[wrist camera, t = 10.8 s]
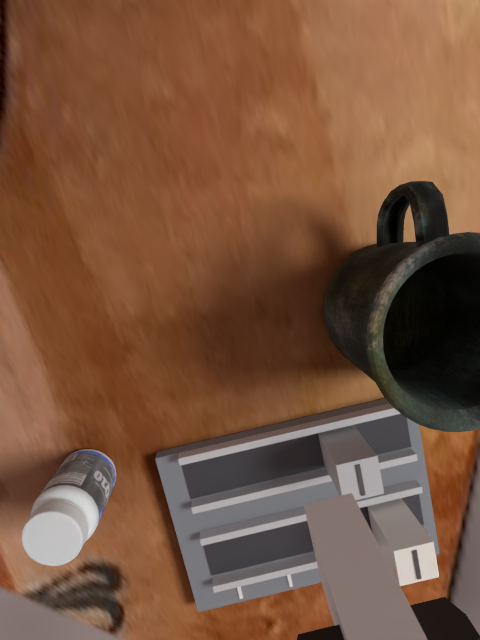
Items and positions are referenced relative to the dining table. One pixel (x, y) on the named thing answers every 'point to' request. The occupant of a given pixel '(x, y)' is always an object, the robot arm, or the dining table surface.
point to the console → (285, 495)
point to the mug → (414, 312)
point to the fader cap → (403, 542)
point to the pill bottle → (69, 508)
